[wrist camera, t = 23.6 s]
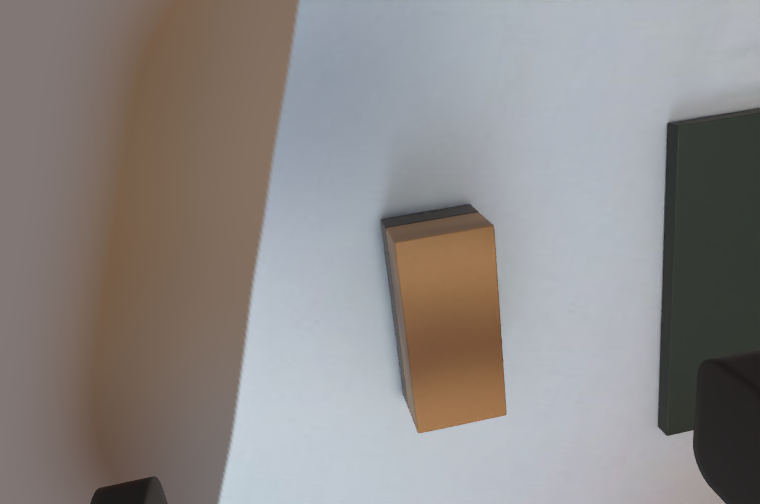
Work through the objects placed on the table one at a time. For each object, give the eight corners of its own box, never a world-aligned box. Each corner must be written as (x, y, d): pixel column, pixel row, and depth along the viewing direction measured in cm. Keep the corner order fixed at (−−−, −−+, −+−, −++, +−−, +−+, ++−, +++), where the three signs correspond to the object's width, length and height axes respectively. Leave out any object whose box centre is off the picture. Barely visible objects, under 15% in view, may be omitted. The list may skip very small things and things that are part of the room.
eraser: (380, 219, 35) (394, 242, 31) (470, 204, 35) (494, 225, 32) (403, 395, 39) (418, 434, 35) (484, 378, 39) (507, 415, 35)
